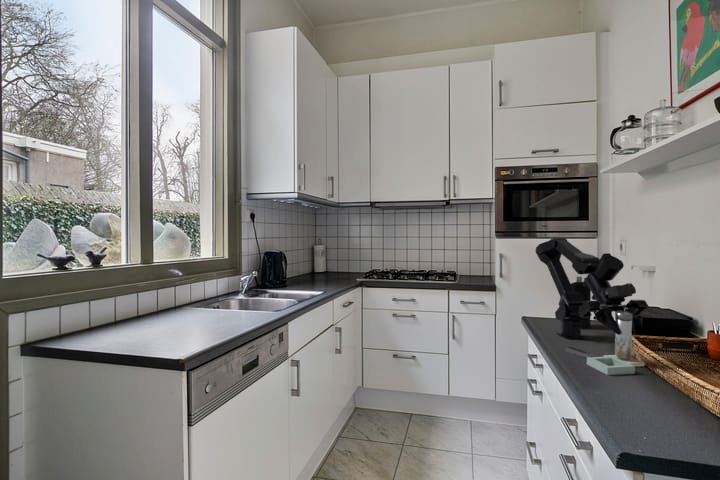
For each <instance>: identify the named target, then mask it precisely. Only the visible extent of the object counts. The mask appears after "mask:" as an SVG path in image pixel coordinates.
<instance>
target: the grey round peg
mask: <svg viewBox="0 0 720 480" xmlns="http://www.w3.org/2000/svg"><path fill="white" fill-rule="evenodd" d="M614 314H615V315H614V316H615V317H614V320H615V322H616V323H617V325H618V327H619V329H620V332H621V334H620V335H618V334H616V333H615V332H614V355H615V356H617V357H619V358H625V359H630V358H631V357H632V347H633V345H632V342H633V341H632V340H633V339H632V338H633V336H632V335H633V334H632V313H631V312H626V311H615V312H614Z"/></svg>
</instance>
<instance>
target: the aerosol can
mask: <svg viewBox="0 0 720 480" xmlns="http://www.w3.org/2000/svg"><path fill="white" fill-rule="evenodd" d="M570 283H571V286H572V288H573V290H574V292H575V293H577V294H582V295H583V296H584V299H585V301H592V298H591V297H592V295H591V294H592V292H591V290H590V288H589V286H583V276H579V275H577V276H576V281H575V282H570ZM591 317H592V316H591ZM591 317H590V318H586V321H580V326H581V330H590V329H591V328H592V326H591Z"/></svg>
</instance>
